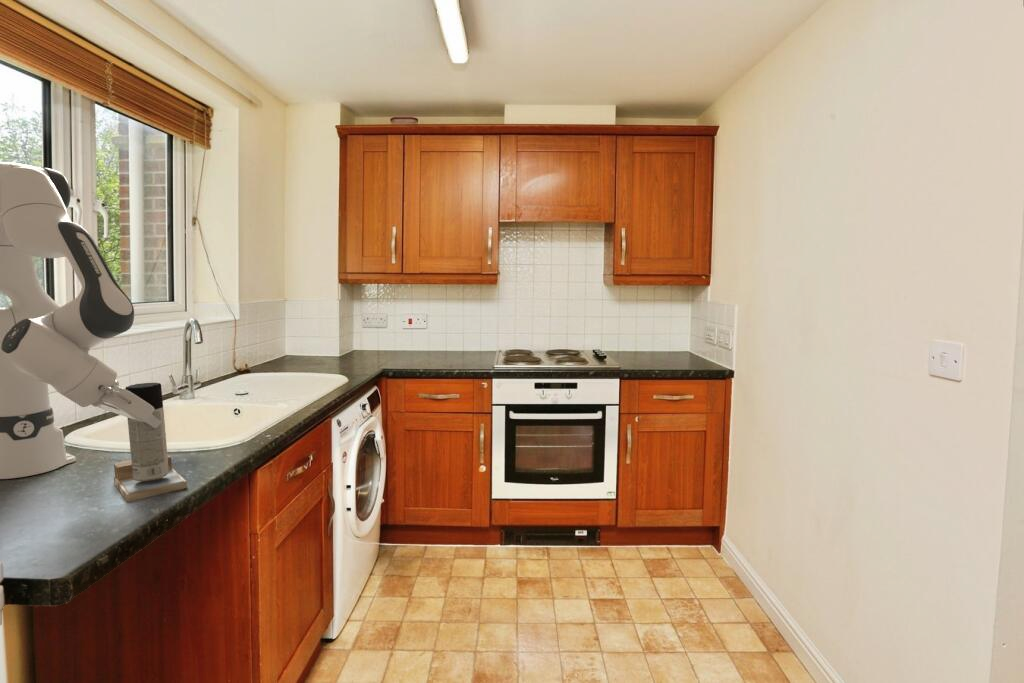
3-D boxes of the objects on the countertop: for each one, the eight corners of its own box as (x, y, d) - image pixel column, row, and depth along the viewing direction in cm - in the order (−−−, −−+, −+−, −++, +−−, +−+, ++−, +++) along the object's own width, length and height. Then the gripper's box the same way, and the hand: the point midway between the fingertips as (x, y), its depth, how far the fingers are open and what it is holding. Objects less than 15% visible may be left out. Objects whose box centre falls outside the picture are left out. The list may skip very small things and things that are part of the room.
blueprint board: (114, 483, 131) (112, 463, 131) (169, 471, 139) (168, 452, 138) (127, 501, 120) (125, 480, 120) (187, 487, 128) (185, 467, 127)
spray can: (175, 471, 131) (167, 381, 129) (158, 481, 124) (149, 387, 122) (144, 472, 130) (136, 382, 128) (125, 482, 124) (116, 388, 122)
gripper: (123, 376, 113) (181, 416, 122) (85, 367, 125) (140, 404, 134) (98, 403, 110) (160, 442, 119) (62, 391, 122) (120, 427, 131)
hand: (149, 422), depth 126 cm, fingers closed on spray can, 7 cm apart
